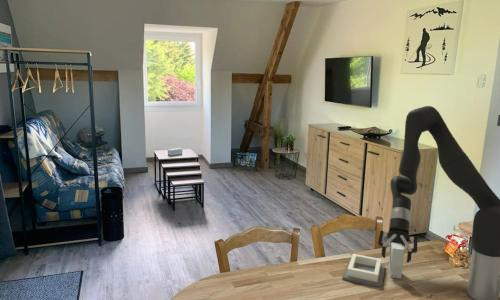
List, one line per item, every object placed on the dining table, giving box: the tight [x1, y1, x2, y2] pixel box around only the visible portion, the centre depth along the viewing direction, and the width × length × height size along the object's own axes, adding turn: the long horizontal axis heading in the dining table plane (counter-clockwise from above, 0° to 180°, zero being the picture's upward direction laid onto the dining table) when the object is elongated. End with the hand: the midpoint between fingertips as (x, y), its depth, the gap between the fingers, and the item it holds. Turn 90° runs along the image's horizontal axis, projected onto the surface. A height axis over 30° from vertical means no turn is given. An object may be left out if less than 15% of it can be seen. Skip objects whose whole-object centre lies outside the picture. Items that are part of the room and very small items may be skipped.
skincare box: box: [387, 242, 405, 279], centre depth 148 cm, size 6×4×12 cm
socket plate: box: [341, 253, 386, 288], centre depth 149 cm, size 14×16×4 cm
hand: (395, 259), depth 147 cm, fingers open, 8 cm apart
